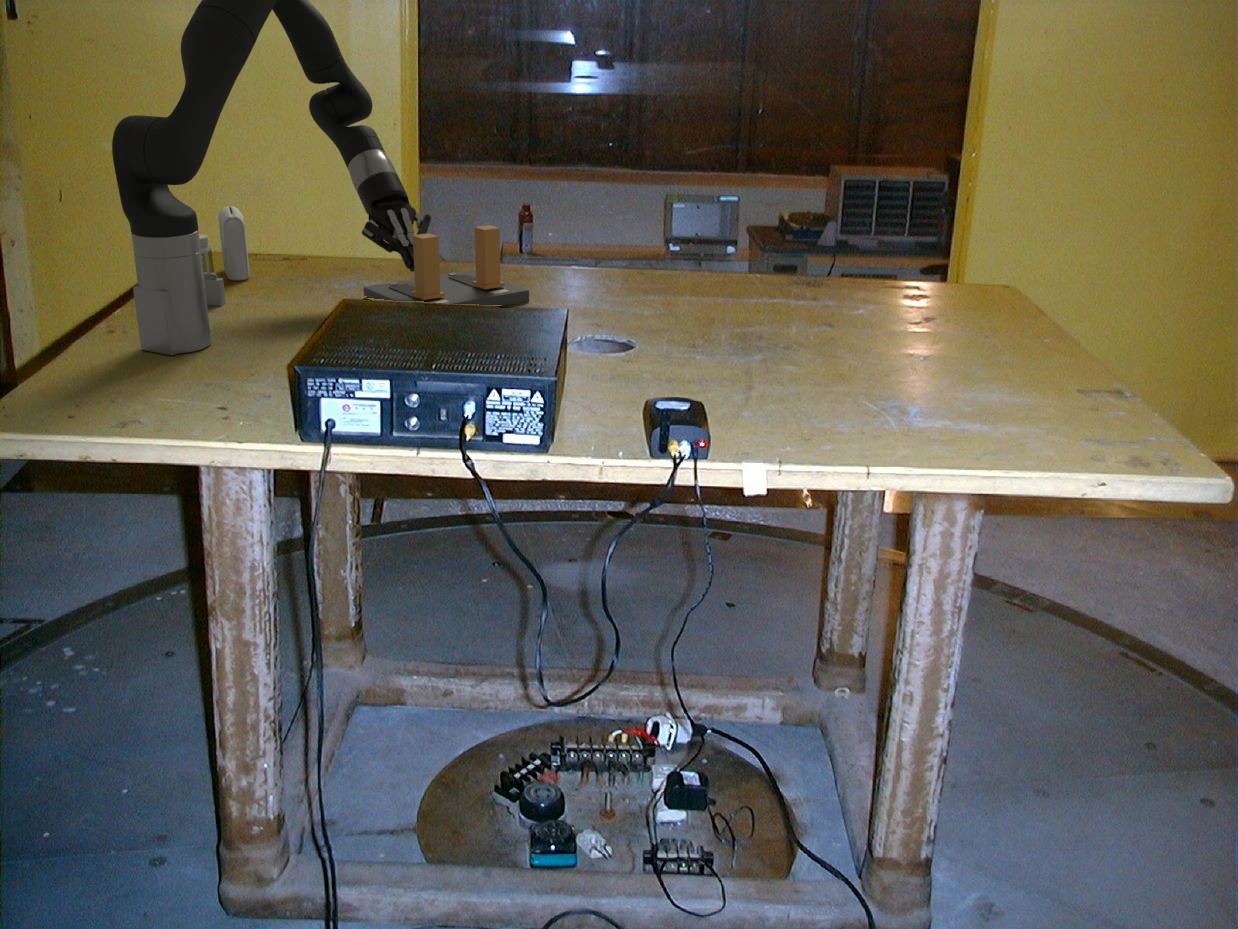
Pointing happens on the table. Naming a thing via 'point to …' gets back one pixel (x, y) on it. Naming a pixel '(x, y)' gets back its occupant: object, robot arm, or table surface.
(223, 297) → the lighter
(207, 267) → the supplement bottle
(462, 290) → the base plate
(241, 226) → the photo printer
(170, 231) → the robot arm
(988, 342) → the table surface
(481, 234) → the brown tall rectangular block
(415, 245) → the tab left
